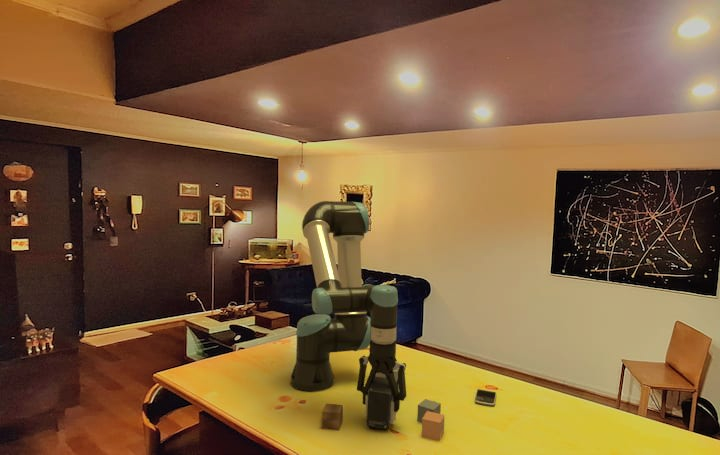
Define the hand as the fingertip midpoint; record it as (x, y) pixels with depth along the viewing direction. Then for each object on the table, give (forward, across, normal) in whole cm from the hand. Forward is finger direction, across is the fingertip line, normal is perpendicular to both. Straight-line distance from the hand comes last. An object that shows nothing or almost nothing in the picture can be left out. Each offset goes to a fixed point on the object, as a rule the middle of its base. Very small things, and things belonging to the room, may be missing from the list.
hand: (380, 418), depth 123 cm
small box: (+1, 0, 0) cm, 1 cm away
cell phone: (+2, +25, +31) cm, 40 cm away
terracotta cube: (+1, +15, +1) cm, 15 cm away
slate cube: (+1, +12, +8) cm, 15 cm away
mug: (+2, -7, +20) cm, 21 cm away
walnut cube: (+1, -12, -7) cm, 14 cm away
